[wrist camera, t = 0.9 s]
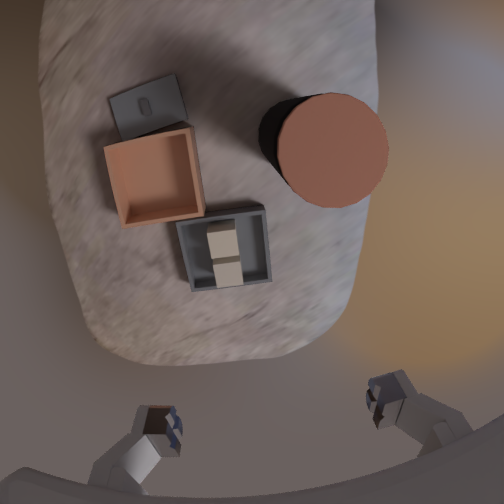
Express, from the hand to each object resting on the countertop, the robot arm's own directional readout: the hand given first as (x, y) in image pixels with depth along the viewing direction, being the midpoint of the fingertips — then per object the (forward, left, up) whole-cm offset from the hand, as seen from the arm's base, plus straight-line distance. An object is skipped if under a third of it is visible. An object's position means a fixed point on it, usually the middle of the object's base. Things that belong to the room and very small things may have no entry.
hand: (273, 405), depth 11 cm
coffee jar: (-6, +9, -36) cm, 38 cm away
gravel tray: (+10, -3, -36) cm, 38 cm away
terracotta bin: (-3, -11, -36) cm, 38 cm away
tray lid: (-13, -11, -36) cm, 40 cm away
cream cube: (+7, -3, -36) cm, 36 cm away
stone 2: (+12, -3, -36) cm, 38 cm away
